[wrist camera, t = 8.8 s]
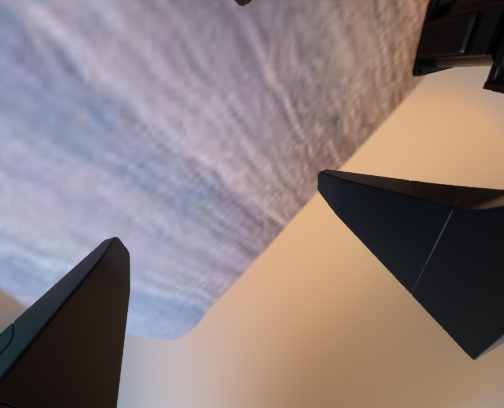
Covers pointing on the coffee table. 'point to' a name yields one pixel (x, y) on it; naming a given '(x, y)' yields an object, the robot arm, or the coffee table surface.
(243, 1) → the coffee mug
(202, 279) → the coffee table surface
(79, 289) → the robot arm
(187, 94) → the coffee table surface
